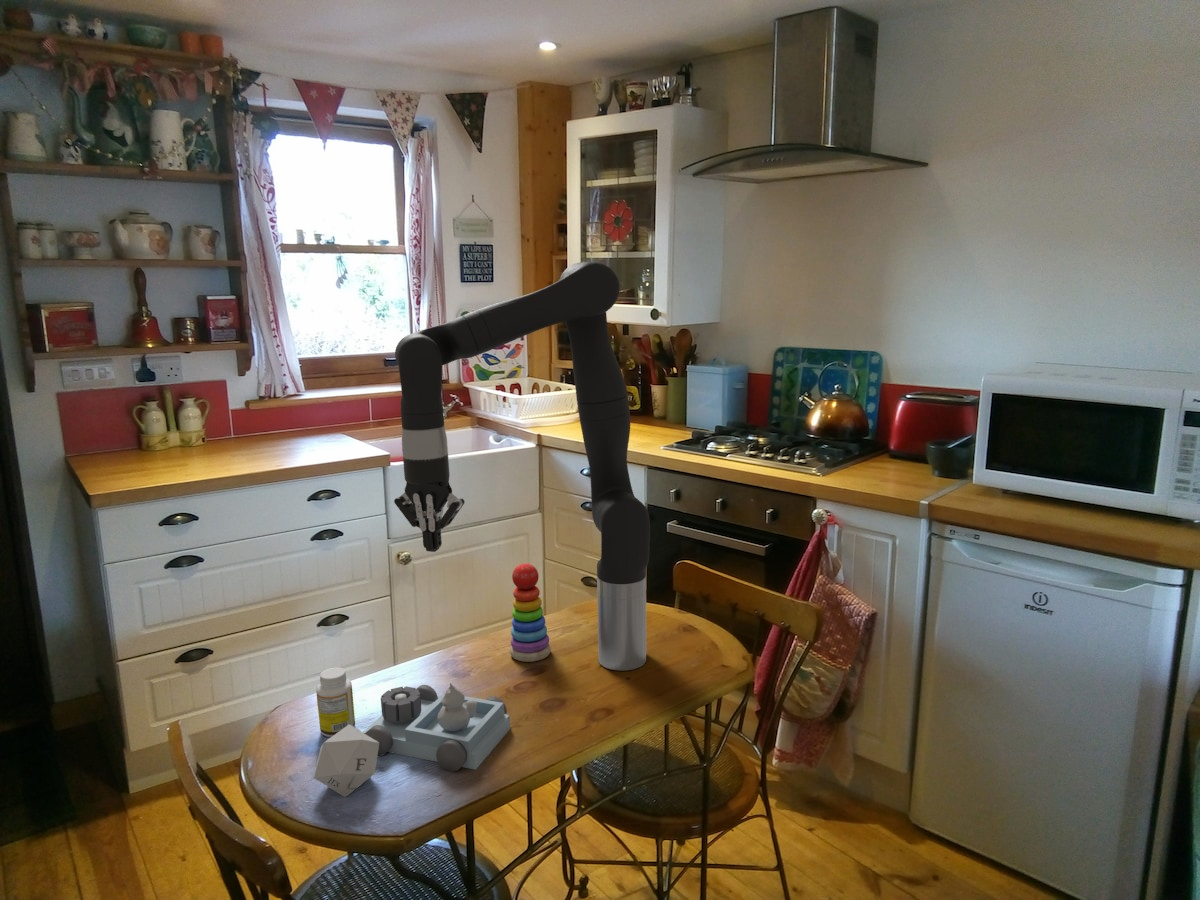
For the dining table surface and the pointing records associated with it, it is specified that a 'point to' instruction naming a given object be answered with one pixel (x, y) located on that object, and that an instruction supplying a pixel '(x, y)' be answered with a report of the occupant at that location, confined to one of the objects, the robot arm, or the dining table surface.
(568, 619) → the dining table surface
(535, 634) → the stacking toy
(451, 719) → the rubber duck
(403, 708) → the spare wheel
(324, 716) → the supplement bottle
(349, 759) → the die
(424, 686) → the chassis
